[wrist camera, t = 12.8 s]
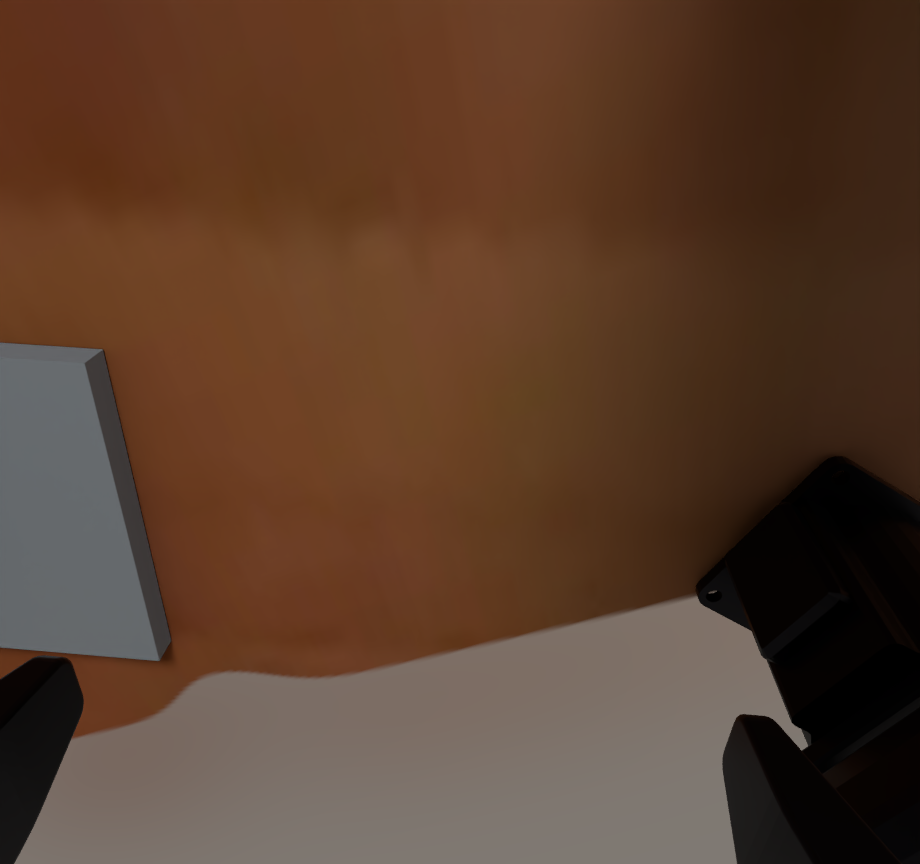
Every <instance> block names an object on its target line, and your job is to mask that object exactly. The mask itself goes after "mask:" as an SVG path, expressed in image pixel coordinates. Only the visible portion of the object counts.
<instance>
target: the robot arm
mask: <svg viewBox="0 0 920 864" xmlns="http://www.w3.org/2000/svg"><path fill="white" fill-rule="evenodd" d="M838 471H844V472H843V473H842V475H840V476H839V477H835V478H831V477H832V476H833V474H835V473H836V472H838ZM713 590H717V592H715V593H711V594H709V593H708V592H710V591H713ZM696 593H697V596H698V599H699V601H700V603H701V604H703V605H704V606H705V607H708V608H710V609H711V610H713V611H715V612H717V613H719V614H721V615H723V616H725V617H726V618H728V619H730V620H732V621H734V622H736V623H738V624H740V625H741V626H744V627H745V628H747V629H749V630H751V631H752V633H753V636H754V638H755V640H756V643H757V646H758V648H759V651H760V653H761V655H762V656H763V658H765V659H767V662H768V664H769V667H770V669H771V672H772V674H773V677H774V679H775V682H776V684H777V687H778V689H779V692H780V694H781V697H782V699H783V702H784V704H785V707H786V709H787V711H788V714H789V717H790V719H791V722H792V723H793V724H794V725H795V726H797V727H799V728H801V729H802V732H803V734H804V737H805V739H806V741H807V744H808V747H806V748H805V749H804V750H802V751H801V750H800V748H799V747H798V746H797V745H796V744H795V743H794V742H793V741H792V739H791V738H790V737H789V736H788V735H787V734H786V733H785V732H784V730H783V729H782V728H781V727H780V726H779V725H778V724H777V723H776V722H775V721H774V720H773V719H771V718H769V717H766V716H758V715H746V714H742V715H739V716H738V717H737V718H736V720H735V722H734V725H733V727H732V730H731V733H730V736H729V739H728V742H727V744H726V747H725V750H724V754H723V775H724V782H725V787H726V795H727V801H728V807H729V813H730V820H731V827H732V833H733V840H734V845H735V852H736V859H737V864H920V502H918V501H917V500H915V499H913V498H912V497H910V496H908V495H907V494H905V493H904V492H902V491H900V490H899V489H897V488H895V487H894V486H892V485H890V484H889V483H887V482H886V481H884V480H882V479H881V478H879V477H877V476H876V475H874V474H872V473H871V472H869V471H868V470H866V469H864V468H863V467H861V466H859V465H858V464H856V463H854V462H853V461H851V460H850V459H848V458H845V457H842V456H836V457H832V458H829V459H827V460H826V461H824V462H823V463H822V464H821V465H819V466H818V467H817V468H816V469H815V470H814V471H813V472H812V473H811V474H810V475H809V476H808V477H807V478H806V479H805V480H804V481H803V482H802V483H801V484H800V485H799V486H798V487H797V488H796V489H795V490H794V491H792V492H791V493H790V494H789V495H788V496H787V497H786V498H785V499H784V500H783V501H782V502H781V503H780V504H779V505H777V506H776V507H775V508H774V509H773V510H772V511H771V512H770V513H769V514H768V515H767V516H766V517H765V518H764V519H763V520H762V521H760V522H759V523H758V524H757V525H756V526H755V527H754V528H753V529H752V530H751V531H750V532H749V533H748V534H747V535H746V536H745V537H744V538H743V539H742V540H741V541H740V542H739V543H738V544H737V545H736V546H735V547H734V548H732V549H731V550H730V551H729V552H728V553H727V554H726V556H725V557H724V558H723V559H722V560H721V561H720V562H719V563H718V564H717V565H716V566H715V567H714V568H712V569H711V570H710V571H709V572H708V573H707V574H706V575H705V576H704V577H703V578H702V579H701V580H700V581H699V582H698V584H697V585H696ZM83 704H84V700H83V694H82V691H81V688H80V685H79V682H78V679H77V677H76V674H75V671H74V668H73V665H72V663H71V661H70V660H68V659H67V658H65V657H55V656H37V657H34V658H32V659H30V660H29V661H27V662H26V663H24V664H23V665H21V666H19V667H18V668H16V669H15V670H13V671H12V672H10V673H9V674H7V675H6V676H4V677H3V678H1V679H0V864H14V863H15V861H16V859H17V857H18V855H19V854H20V852H21V850H22V848H23V846H24V844H25V842H26V840H27V838H28V836H29V834H30V833H31V830H32V829H33V827H34V824H35V822H36V820H37V817H38V815H39V813H40V811H41V809H42V807H43V804H44V802H45V800H46V797H47V795H48V792H49V790H50V788H51V785H52V783H53V780H54V778H55V776H56V774H57V771H58V769H59V767H60V764H61V762H62V760H63V757H64V754H65V752H66V750H67V748H68V745H69V743H70V741H71V738H72V736H73V734H74V731H75V729H76V726H77V724H78V722H79V719H80V717H81V714H82V710H83Z"/></svg>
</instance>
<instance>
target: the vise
mask: <svg viewBox="0 0 920 864" xmlns="http://www.w3.org/2000/svg"><path fill="white" fill-rule="evenodd" d="M170 642H171V638H170V633H169V629H168V625H167V621H166V616H165V612H164V608H163V604H162V599H161V595H160V591H159V586H158V582H157V578H156V574H155V569H154V565H153V561H152V557H151V552H150V548H149V544H148V540H147V535H146V531H145V527H144V523H143V518H142V514H141V510H140V505H139V501H138V497H137V493H136V488H135V484H134V480H133V476H132V471H131V467H130V463H129V459H128V454H127V450H126V446H125V442H124V437H123V433H122V429H121V424H120V420H119V416H118V412H117V407H116V403H115V399H114V395H113V390H112V386H111V382H110V378H109V373H108V369H107V365H106V360H105V356H104V352H103V349H88V348H73V347H58V346H42V345H27V344H12V343H0V647H2V648H13V649H25V650H37V651H48V652H60V653H72V654H84V655H95V656H107V657H119V658H130V659H142V660H154V661H160V659H161V657H162V656H163V654H164V652H165V650H166V649H167V647H168V645H169V644H170Z"/></svg>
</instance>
